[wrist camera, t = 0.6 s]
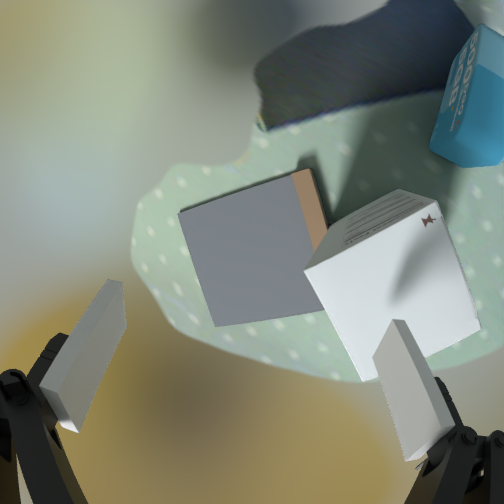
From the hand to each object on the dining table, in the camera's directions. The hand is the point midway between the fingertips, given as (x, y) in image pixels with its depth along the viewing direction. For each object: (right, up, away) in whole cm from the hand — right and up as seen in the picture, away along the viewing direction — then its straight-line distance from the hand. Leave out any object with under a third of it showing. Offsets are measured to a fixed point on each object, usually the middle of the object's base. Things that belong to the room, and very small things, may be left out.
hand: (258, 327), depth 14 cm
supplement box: (+14, +4, +18) cm, 23 cm away
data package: (+22, +19, +11) cm, 31 cm away
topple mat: (+1, +3, +23) cm, 23 cm away
